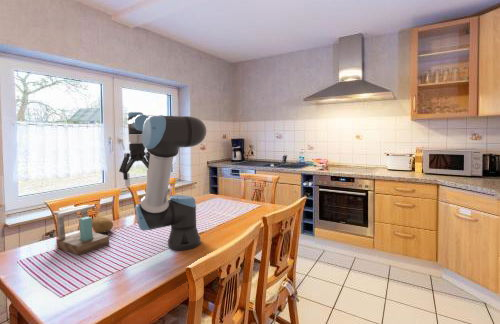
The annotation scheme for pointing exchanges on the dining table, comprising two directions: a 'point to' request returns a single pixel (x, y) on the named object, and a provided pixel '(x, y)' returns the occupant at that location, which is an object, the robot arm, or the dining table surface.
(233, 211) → the dining table surface
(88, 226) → the peg
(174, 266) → the dining table surface
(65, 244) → the socket stand
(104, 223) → the potato
